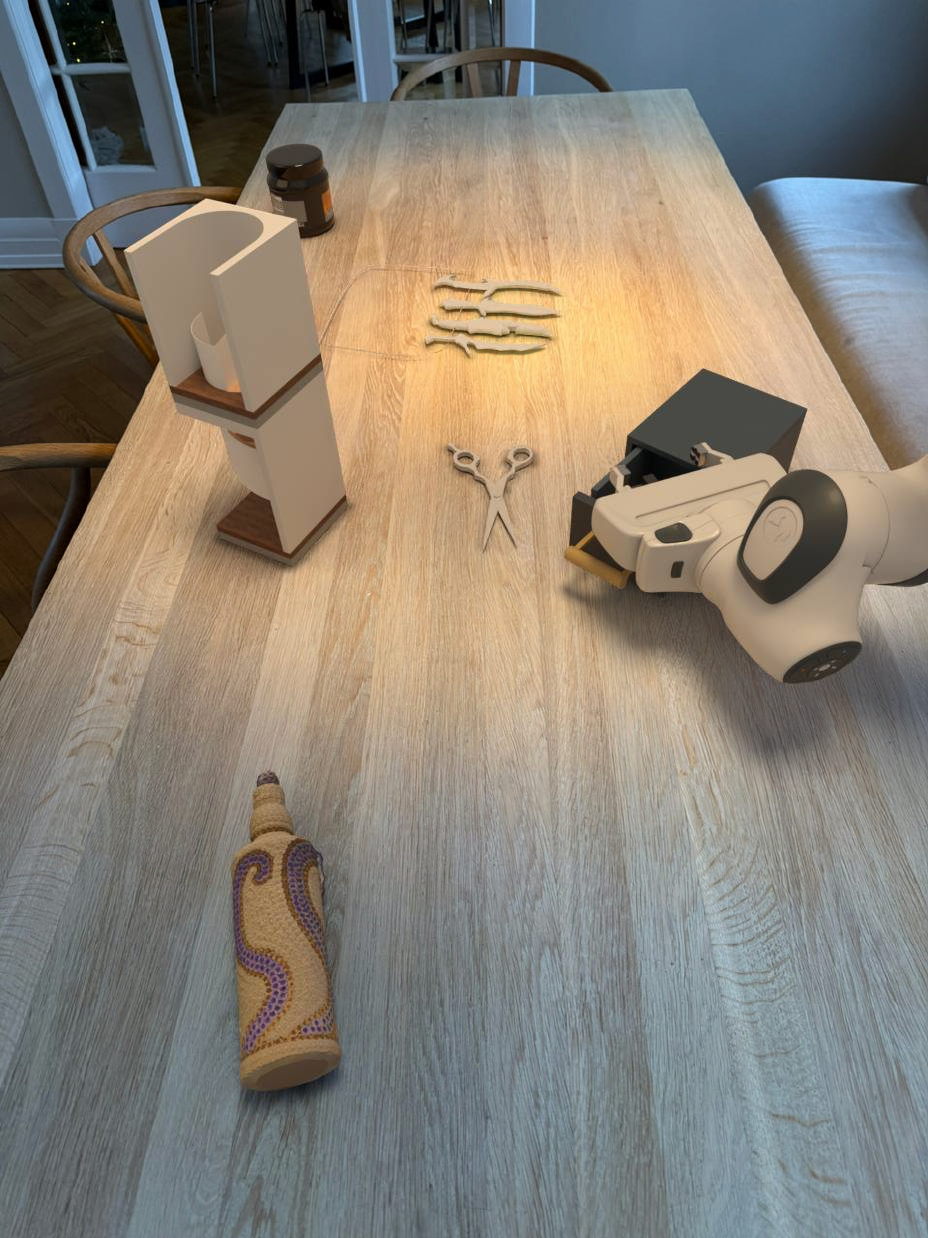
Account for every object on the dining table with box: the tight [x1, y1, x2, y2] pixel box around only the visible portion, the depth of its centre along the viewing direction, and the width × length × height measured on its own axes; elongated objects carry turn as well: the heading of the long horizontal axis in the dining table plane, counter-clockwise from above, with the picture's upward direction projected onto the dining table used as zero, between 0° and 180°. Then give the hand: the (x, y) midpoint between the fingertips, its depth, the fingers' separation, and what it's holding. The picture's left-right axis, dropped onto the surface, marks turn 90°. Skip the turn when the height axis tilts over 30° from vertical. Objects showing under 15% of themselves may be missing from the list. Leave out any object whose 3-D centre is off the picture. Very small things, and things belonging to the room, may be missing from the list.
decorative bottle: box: [230, 769, 343, 1092], centre depth 71 cm, size 26×8×7 cm, turn 12°
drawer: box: [563, 446, 694, 599], centre depth 96 cm, size 20×12×8 cm, turn 140°
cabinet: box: [624, 368, 808, 474], centre depth 103 cm, size 17×14×10 cm
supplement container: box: [265, 143, 335, 238], centre depth 152 cm, size 10×10×12 cm
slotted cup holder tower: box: [123, 198, 349, 567], centre depth 92 cm, size 11×11×35 cm
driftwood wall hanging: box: [318, 263, 565, 357], centre depth 134 cm, size 26×35×1 cm
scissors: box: [447, 441, 534, 551], centre depth 107 cm, size 11×1×20 cm
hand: (656, 459), depth 92 cm, fingers open, 8 cm apart
